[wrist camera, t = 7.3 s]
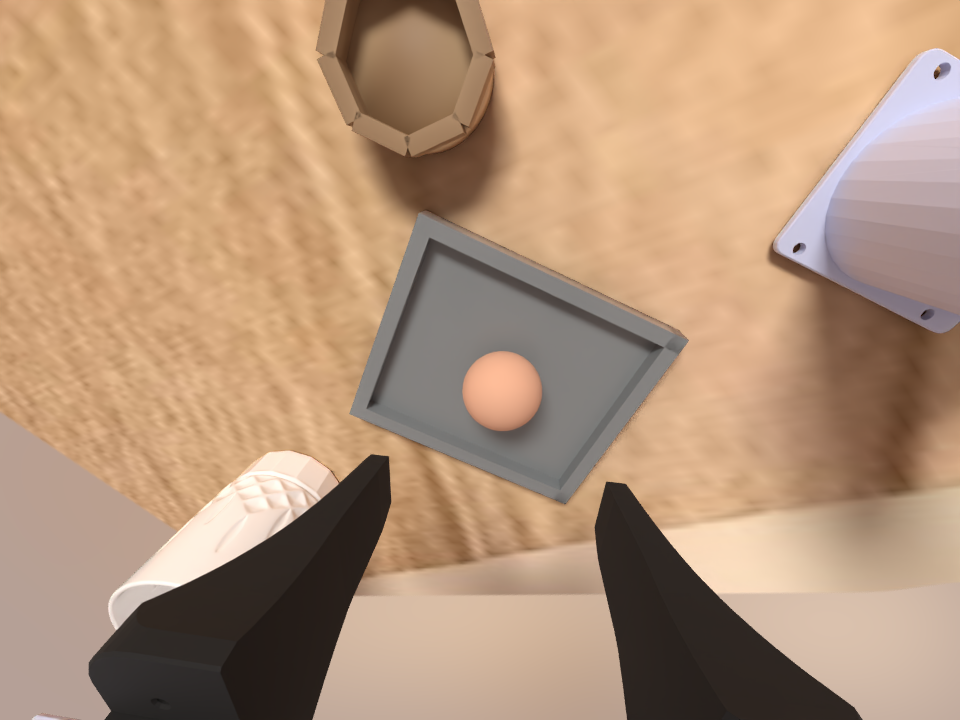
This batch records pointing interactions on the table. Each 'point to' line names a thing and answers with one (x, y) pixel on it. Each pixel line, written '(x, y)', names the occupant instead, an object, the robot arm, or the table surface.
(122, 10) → the table surface
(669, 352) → the tray
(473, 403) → the ball
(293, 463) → the white cup
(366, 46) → the egg cup
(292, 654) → the robot arm
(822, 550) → the table surface
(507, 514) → the table surface
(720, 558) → the table surface
